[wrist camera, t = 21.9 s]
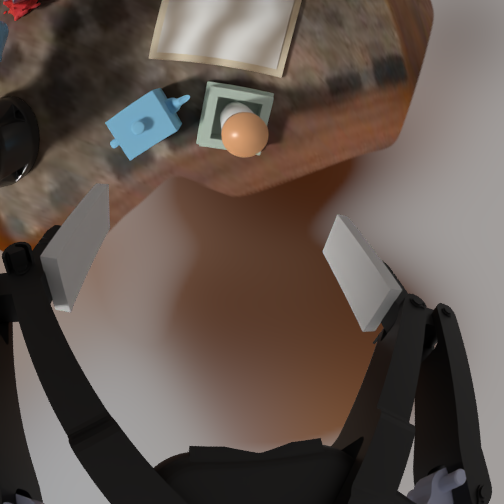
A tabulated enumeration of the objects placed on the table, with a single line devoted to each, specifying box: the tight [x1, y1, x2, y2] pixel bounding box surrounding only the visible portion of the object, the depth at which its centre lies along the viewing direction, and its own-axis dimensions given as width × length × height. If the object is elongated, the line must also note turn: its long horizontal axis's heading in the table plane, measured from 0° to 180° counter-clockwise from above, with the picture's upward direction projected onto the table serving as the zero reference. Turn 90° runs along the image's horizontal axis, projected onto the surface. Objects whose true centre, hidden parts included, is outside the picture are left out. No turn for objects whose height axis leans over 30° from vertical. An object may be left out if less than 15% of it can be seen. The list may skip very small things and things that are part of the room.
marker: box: [220, 102, 268, 157], centre depth 30 cm, size 4×4×14 cm
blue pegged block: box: [105, 88, 190, 160], centre depth 32 cm, size 12×6×8 cm, turn 116°
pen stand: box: [196, 81, 274, 155], centre depth 35 cm, size 9×9×4 cm
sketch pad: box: [149, 0, 302, 78], centre depth 27 cm, size 18×14×1 cm
